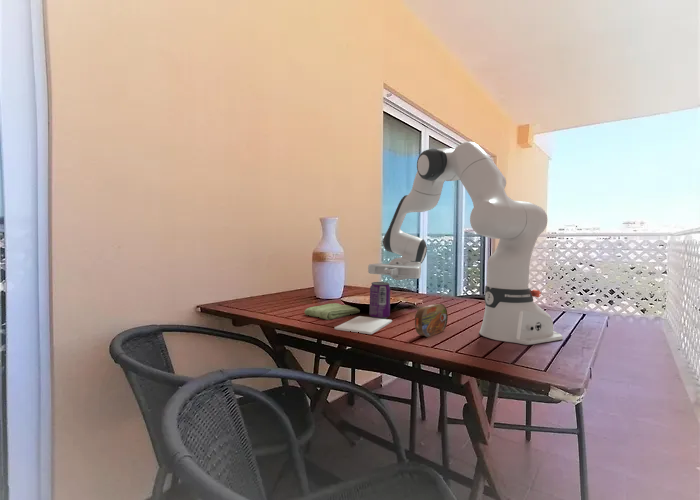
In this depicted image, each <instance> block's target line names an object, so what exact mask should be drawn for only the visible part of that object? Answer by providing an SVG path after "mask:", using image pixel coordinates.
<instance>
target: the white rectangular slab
mask: <svg viewBox="0 0 700 500" xmlns="http://www.w3.org/2000/svg"><path fill="white" fill-rule="evenodd" d="M392 322H393V320H392V319H388V318H385V319H380V318H373V317H371V316H362V315H359V316H355V317H354V318H352V319H350V320H348V321H344V322H343V323H341V324H339V325H337V326H334V330H337V331H344V332H350V331H351V332H352V333H358V332H359V334H364V335H365V334H367V335H373V334H374V333H376V332H378V331H380V330H381V329H383V328H384V327H386V326H388V325H389V324H391V323H392Z"/></svg>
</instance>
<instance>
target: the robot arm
mask: <svg viewBox="0 0 700 500" xmlns="http://www.w3.org/2000/svg"><path fill="white" fill-rule="evenodd" d="M416 170H417V171H416V173H415V177H414V180H413V184H412V187H411V190H410V192H409V193H408V194H406V195H405V194H404V195H403V197H402V198H401V199H400V201H399V202H398V204H397V207H396V209H395V212H394V214H393V217H392V218H391V221H390V224H389V225H388V228H387V231H386V232H385V234H384V236H383V238H382V245H383V248H384V249H385V252H388V253H389V252H390V253H392V254H396V255H399V256H401V257H397V258H393V259H392V260H390V262H389V263H369V264H368V267H367V270H368V271H367V272H368V274H372V275H383V276H390V277H391V278H392V279H393V280H395V281H403V280H408V279H410V280H411V279H413V280H417V279H420V278H421V273H422V263H423V262H424V260H425V257H427V252H428V247H427V243H426V241H425V239H424V238H421V237H418V236H416V235H413V234H409V233H407V232H404V231H403V230H402V229H401V227H402V225H403V223H404V220H405V218H406V216H407V214H410V213H423V212H424V213H425V212H427V211H431V210H433V209H434V208H435V207H436V206H437V205H438V203H439V201H440V198H441V196H442V192H443V188H444V184H445V182H455V181H460V183H461V184H462V185H463V187H464V189H465V190H466V192H467V193H468V195H469V197H470V199H471V202H472V204H473V205H472V206H473V208H472V209H471V211H470V212H471V213H470V217H469V222H470V226H471V229H472V230H473V231H474V233H476V234H477V235H480V236H482V237H486V238H489V239H492V240H493V239H496V240H498V239H499V241H498V244H497V246H496V249H495V250H494V252H493V253H492V254H491V255H490V256H489V257H488V259H487V262H486V263H487V265H486V266H487V267H486V271H487V272H486V285H485V287H484V288H485V289H484V304H485V305H484V306H485V307H484V314H483V320H482V324H481V325H480V326H481V327H480V330H479V335H481V336H483V337H485V338H488V339H491V340H495V341H498V342H499V341H501V342H507V343H515V344H521V345H528V346H531V345H536V344H543V343H548V342H554V341H559V340H560V341H561V340H563V339H564V338H563V335H562V334H561V333H559V332H557V331H554V322H553V319H552V316H551V315H550V314H549V313H548V312H547V311H545V310H544V309H543V308H541V306H540V305H538V304H537V303H536V302H534V297H535V298H541V297H542V292H541V290H539V289H532V290H531V289H530V288H529V283H530V282H529V279H530V264H531V258H532V254H533V250H534V248H535V246H536V242H537V241H538V238H539V237H540V235H541V234H542V233H543V232H544V231H545V229H546V228H547V225H548V215H547V212H546V210H544V208H542V207H541V206H539V205H538V204H535V203H532V202H531V201H522V200H514V199H512V198H510V197H509V196H508V194H507V193H506V190H505V188H506V185H507V180H506V177H505V176H504V174H503V173H502V171H500V169H499V167H498V165H496V163H495V162H494V160H493V159H492V157H491V156H490V155H489V154H488V153H487V152H486V151H485V149H483V148H482V147H481V146H480V145H479V144H478V143H476V142H474V141H464V142H462V143H460V144H459V145H457V146H456V147H455V148H450V147H445V148H444V147H443V148H429V149H426V150H423V151H422V152H421V153H420V154H419V156H418V158H417V162H416Z"/></svg>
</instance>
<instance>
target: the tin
mask: <svg viewBox="0 0 700 500" xmlns="http://www.w3.org/2000/svg"><path fill="white" fill-rule="evenodd" d="M448 318H449V317H448V309H447V307H446V305H444V304H443V303H433V304H429V305H426V306H422V307H420V308H418V309H417V311H416V313H415V316H414V326H415V331H416V334H417V335H419V336H420V337H421V336H422V337H426V338H430V337H433V336H435V335H438V334H440V333H442V332H444V331H445V329H446V328H447V325H448Z"/></svg>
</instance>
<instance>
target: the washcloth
mask: <svg viewBox="0 0 700 500" xmlns="http://www.w3.org/2000/svg"><path fill="white" fill-rule="evenodd" d="M360 311H361V310H360V309H359V308H357V307H354V306H351V305H348V304H344V305H343V304H341V303H339V302H337V303H335V302H333V303H325V304H321V305H317V306H316V305H315V306H310V307H308V308H305V310H304V312H303V313H304V315H306V316H308V315H309V316H310V317H314V318H318V317H319V319H323V320H327V321H331V320H336V319H339V318H344V317H348V316H350V314H351V315H355V314H358V313H360ZM309 316H308V317H309Z"/></svg>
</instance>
